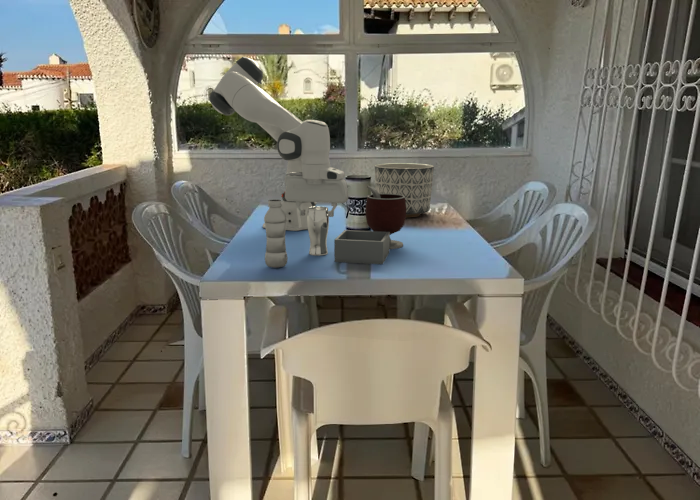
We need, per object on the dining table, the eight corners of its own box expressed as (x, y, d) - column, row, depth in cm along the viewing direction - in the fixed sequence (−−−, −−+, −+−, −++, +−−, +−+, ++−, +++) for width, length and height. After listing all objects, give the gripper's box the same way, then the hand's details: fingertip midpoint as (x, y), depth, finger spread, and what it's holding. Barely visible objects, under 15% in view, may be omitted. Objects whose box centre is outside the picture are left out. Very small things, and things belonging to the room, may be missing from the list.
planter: (433, 210, 271) (434, 163, 266) (430, 220, 246) (432, 168, 241) (377, 209, 276) (378, 162, 270) (370, 218, 251) (370, 167, 246)
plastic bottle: (265, 264, 175) (263, 198, 171) (288, 264, 176) (286, 198, 171) (264, 270, 169) (262, 202, 164) (287, 269, 170) (286, 201, 165)
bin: (334, 261, 179) (334, 239, 177) (344, 250, 193) (344, 230, 191) (382, 264, 176) (383, 241, 174) (389, 252, 190) (389, 231, 188)
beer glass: (326, 256, 185) (325, 210, 182) (305, 255, 186) (304, 209, 183) (331, 251, 192) (331, 206, 188) (310, 250, 193) (310, 205, 190)
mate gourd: (413, 245, 201) (415, 187, 197) (387, 251, 192) (388, 191, 187) (380, 238, 212) (381, 183, 207) (353, 244, 202) (353, 187, 198)
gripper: (281, 172, 182) (282, 216, 185) (345, 174, 178) (345, 218, 181) (287, 171, 188) (288, 213, 191) (349, 172, 184) (349, 215, 187)
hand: (316, 216), depth 186 cm, fingers open, 8 cm apart
